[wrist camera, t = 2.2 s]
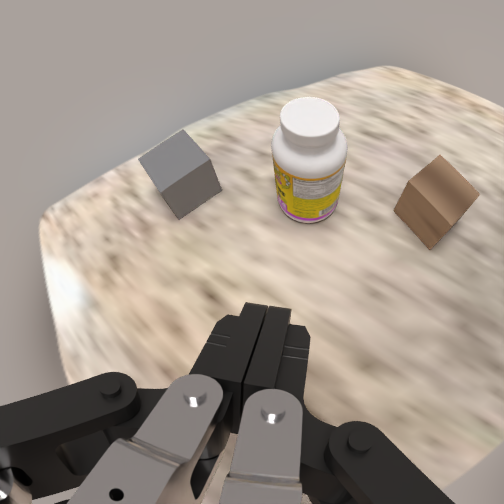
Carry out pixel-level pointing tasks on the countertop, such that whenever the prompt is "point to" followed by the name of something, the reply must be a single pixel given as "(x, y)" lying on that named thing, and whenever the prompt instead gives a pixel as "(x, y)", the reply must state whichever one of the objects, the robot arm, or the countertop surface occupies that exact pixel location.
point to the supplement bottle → (308, 159)
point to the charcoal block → (181, 173)
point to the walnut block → (435, 201)
